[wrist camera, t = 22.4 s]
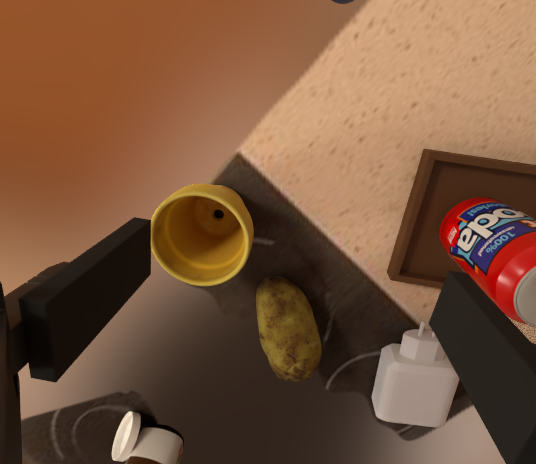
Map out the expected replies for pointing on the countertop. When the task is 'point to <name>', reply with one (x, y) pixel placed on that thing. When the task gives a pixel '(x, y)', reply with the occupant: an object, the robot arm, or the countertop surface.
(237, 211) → the flower pot
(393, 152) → the countertop surface
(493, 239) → the soda can
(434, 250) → the rectangular tray
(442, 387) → the charger
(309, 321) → the potato
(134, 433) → the spread jar
